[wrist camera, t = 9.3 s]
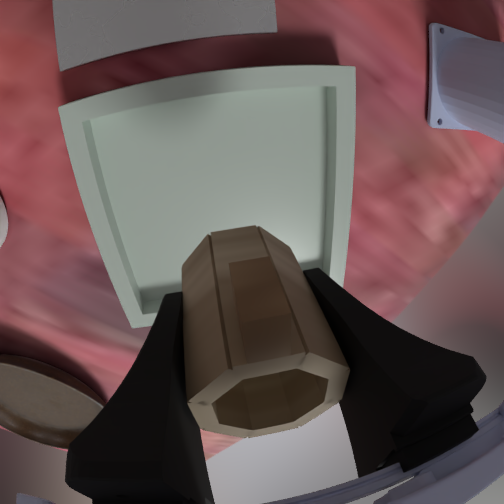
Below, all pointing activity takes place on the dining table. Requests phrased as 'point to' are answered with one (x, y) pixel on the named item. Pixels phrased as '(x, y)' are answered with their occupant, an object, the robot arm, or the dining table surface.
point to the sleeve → (255, 337)
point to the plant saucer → (44, 401)
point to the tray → (214, 169)
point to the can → (3, 222)
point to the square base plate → (150, 24)
